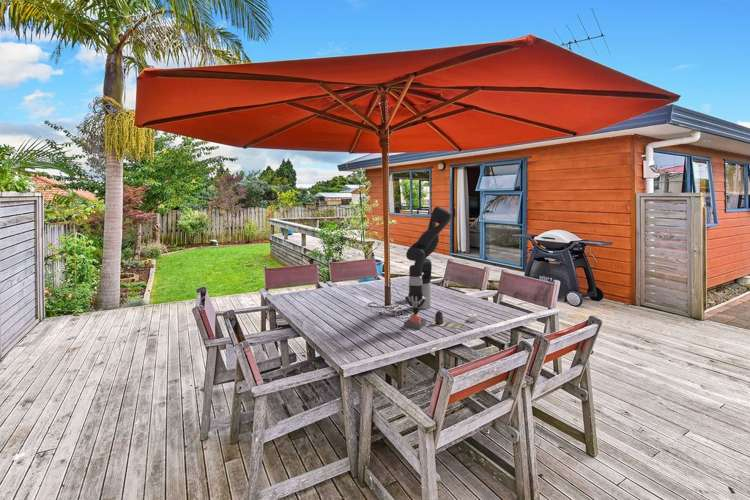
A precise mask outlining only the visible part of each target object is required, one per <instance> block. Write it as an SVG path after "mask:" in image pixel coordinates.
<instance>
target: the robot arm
mask: <svg viewBox="0 0 750 500" xmlns="http://www.w3.org/2000/svg"><path fill="white" fill-rule="evenodd" d="M452 213H453V212H451V211H449V210H447V209H445V208H443V207H441V206H439V205H437V206H435V207H434V208H433V210H432V212H431V215H430V218H429V223H428V227H427V230H425V231H424V232H423V233H422V234H421V236H419V238H418V239H417V241H416V242H414V243H413V244H412V245H411V246H410V247H409V248H408V249H407V250H406V255H405V256H406V259H407V260H409V261H412V262H414V264H411V265H409V269H408V270H409V273H408V274H409V275H408V276H409V278H408V295H407V296H405V297H404V298H405V299H404V300H405V301H406V302H407V303H408V305H409V306H410V307H412V314H418V315H419V310H428V309H431V280H432V271H433V269H432V268H433V267H432V265H433V264H432V261H431V259H430V258H428V257H429V256H430V255H431V254H433V252H435V251H436V249H437V246H439V245H438V244H439V242H440V239H439V234H440V233H441V232H442V231H443V230H444V229H445V228H446V226H447V225H448V224H449V222H450V221H451V218H452V216H453V215H452ZM437 224H438V225H437ZM410 299H411V300H412V301H411V300H410Z"/></svg>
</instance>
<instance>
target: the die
mask: <svg viewBox="0 0 750 500" xmlns="http://www.w3.org/2000/svg"><path fill="white" fill-rule="evenodd" d="M468 322H471V323H477V322H478V316H477V314H476V313H468Z"/></svg>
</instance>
